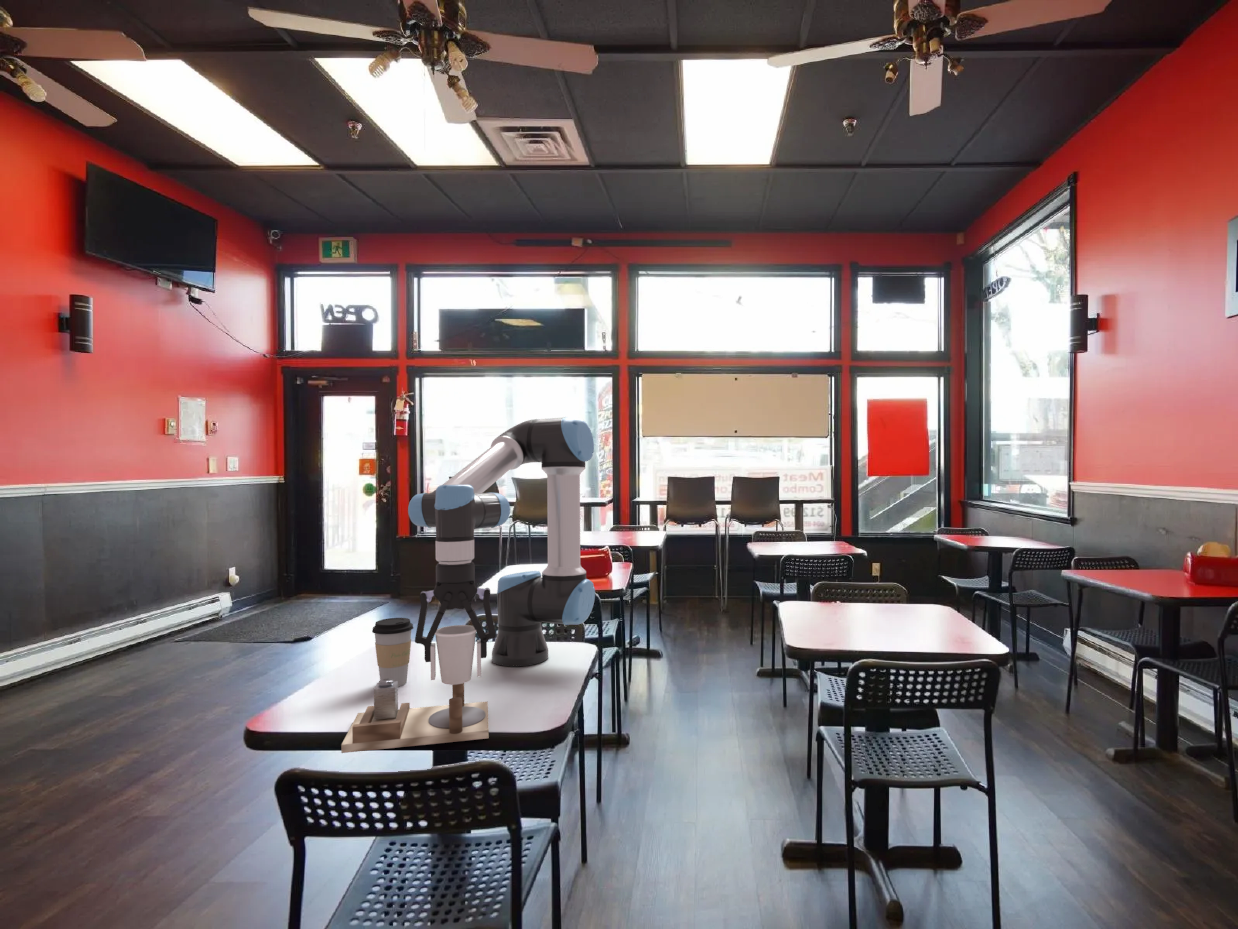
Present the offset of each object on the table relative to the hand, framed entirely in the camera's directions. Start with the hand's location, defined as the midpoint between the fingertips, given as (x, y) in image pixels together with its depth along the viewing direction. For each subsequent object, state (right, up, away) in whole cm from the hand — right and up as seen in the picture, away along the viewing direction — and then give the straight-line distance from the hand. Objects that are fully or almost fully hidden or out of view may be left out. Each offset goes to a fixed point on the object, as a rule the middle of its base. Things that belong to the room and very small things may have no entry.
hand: (456, 676), depth 128 cm
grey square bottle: (-14, -8, +1) cm, 17 cm away
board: (-7, -10, -1) cm, 12 cm away
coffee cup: (-22, -11, +27) cm, 36 cm away
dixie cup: (0, -1, 0) cm, 1 cm away
